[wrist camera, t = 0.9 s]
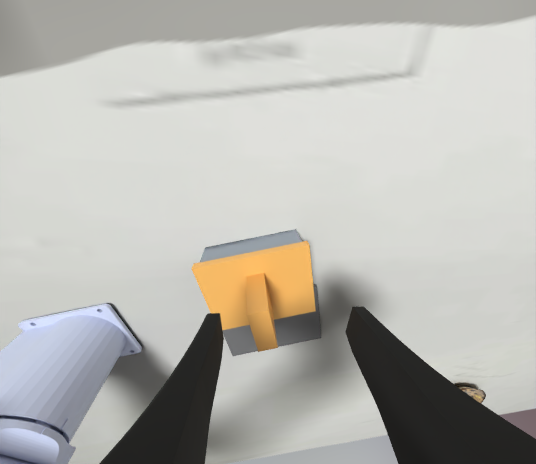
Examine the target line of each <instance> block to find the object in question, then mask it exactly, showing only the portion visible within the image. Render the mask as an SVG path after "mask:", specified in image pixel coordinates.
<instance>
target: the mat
mask: <svg viewBox="0 0 536 464" xmlns="http://www.w3.org/2000/svg"><path fill="white" fill-rule="evenodd" d="M313 288H314V299H315V310H316V311H314V312H309V313H304V314H299V315H294V316H290V317H285V318H280V319H275V320H274V325H275V332H276V338H277V345H278V347H279V346H284V345H289V344H294V343H299V342H304V341H308V340H313V339H318V338H321V329H320V316H319V304H318V292H317V286H316V285H313ZM222 331H223V334H224V337H225V339H226V341H227V344H228V346H229V348H230V351H231V353H232V355H233V356H236V355H241V354H246V353H250V352H255V351H258V349H257V346H256V343H255V340H254V337H253V334H252V331H251V328H250V325H246V326H241V327H236V328H231V329H226V330H222Z"/></svg>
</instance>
